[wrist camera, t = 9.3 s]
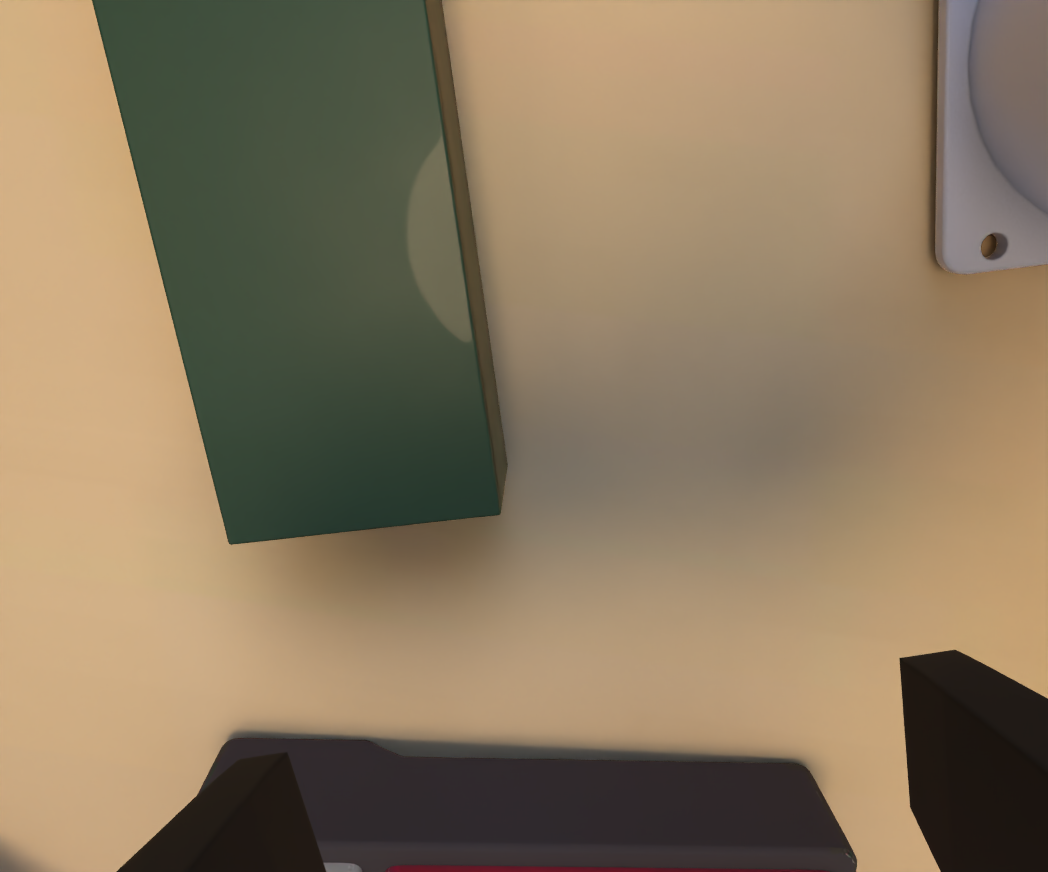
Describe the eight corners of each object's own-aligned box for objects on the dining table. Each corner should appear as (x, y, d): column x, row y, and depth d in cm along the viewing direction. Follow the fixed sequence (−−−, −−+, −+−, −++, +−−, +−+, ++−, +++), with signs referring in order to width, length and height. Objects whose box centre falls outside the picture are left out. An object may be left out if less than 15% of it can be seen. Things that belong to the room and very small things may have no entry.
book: (507, 466, 18) (501, 515, 15) (277, 492, 18) (227, 545, 16) (403, -269, 14) (368, -389, 11) (114, -220, 15) (8, -324, 12)
